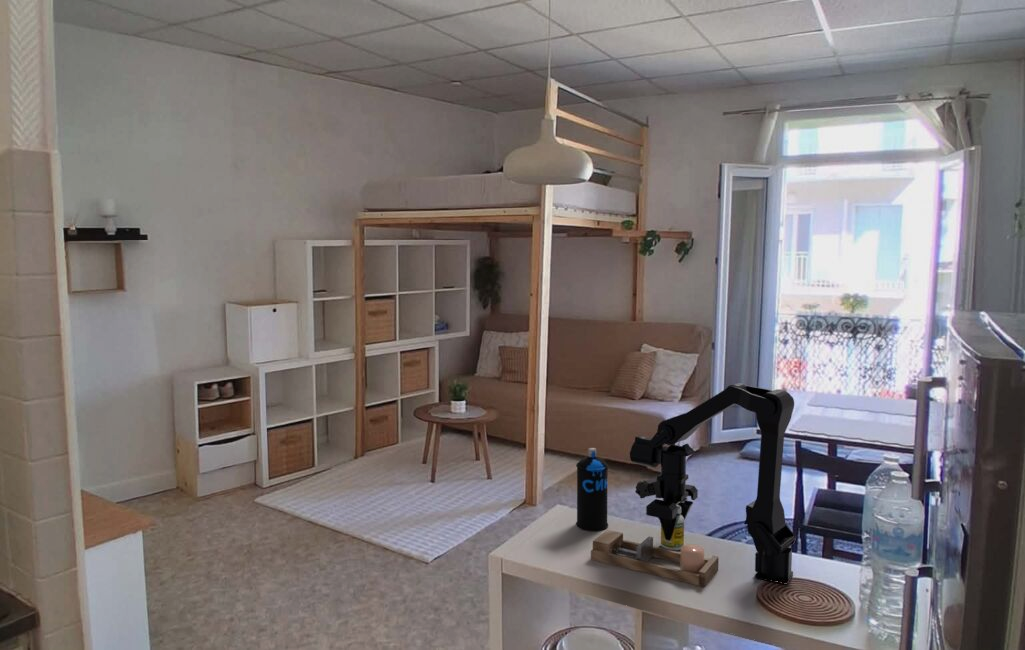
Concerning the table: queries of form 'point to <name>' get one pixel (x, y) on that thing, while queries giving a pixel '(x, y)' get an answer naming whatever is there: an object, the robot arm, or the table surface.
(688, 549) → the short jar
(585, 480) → the aerosol can
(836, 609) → the table surface
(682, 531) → the supplement bottle
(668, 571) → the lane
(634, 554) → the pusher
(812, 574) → the table surface
